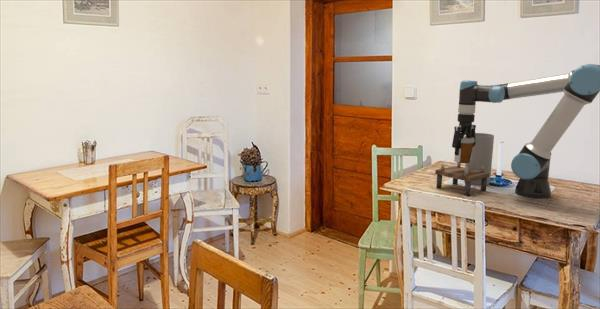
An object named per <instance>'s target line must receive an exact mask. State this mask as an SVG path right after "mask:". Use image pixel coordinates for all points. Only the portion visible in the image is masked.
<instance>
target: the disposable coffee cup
mask: <svg viewBox="0 0 600 309" xmlns="http://www.w3.org/2000/svg"><path fill="white" fill-rule="evenodd" d="M459 139H460V138H459ZM474 142H475V140H474V138H473V137H471V138H467V137H466V135H464V137H463V139H461V146H460V149H461V157H460V162H456V164H457V163H461V164H465V163H470V158H471V153H472V148H473V144H474Z"/></svg>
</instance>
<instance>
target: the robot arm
mask: <svg viewBox="0 0 600 309" xmlns="http://www.w3.org/2000/svg"><path fill="white" fill-rule="evenodd" d="M459 84H460V85H459V94H458V99H459V100H458V109H457V110H458V114H457V122H458V123H459V124H458V125H456V126H454V132H453V138H452V144H451V148H454V160H453V161H454V162H455V163H457V162H460V157H461V149H460V146H461V139H463V137H464V136H466V137H467V138H471V137H473V138H474V140H475V133H476V128H477V124H473V123H474V122H475V117H476V116H475V113H476V105H477V104H476V102H478V103H479V102H481V103H493V104H495V103H496V104H497V103H499V104H501V103H502V102H503V101H505V100H513V99H521V98H527V97H535V96H536V97H537V96H543V95H549V94H550V95H551V94H556V93H563V96H562V97H561V99H560V100H559V102H558V103H557V105H556V106H555V107H554V109H553V110H552V111H551V113H550V114H549V115H548V118H547V119H546V120H545V121H544V123H543V125H542V126H541V128H540V129H539V130H538V131H537V133H536V135H535V136H534V138H533V139H532V140H531V141H530V142H527V143H524V145H523V146H522V148H521V150H520V151H519V153H518V154H516V155H515V156H514V157H512V158H513V159H512V160H511V163H510V167H511V171H512V173H513V174H514V175H515V176H516V177H517V178H519V179H518V182H517V183H516V186H515V190H514V193H515V194H516V195H517V196H521V197H525V198H530V199H549V198H551V196H552V190H551V185H550V182H549V177H550V176H549V175H550V174H549V173H550V164H551V159H552V150H554V148H555V147H556V146H557V144H558V142H559V141H560V140H561V138H562V137H563V136H564V134H565V133H566V131H567V130H568V129H569V127H570V126H571V125H572V123H573V122H574V121H575V119H576V118H577V116H578V115H579V114H580V112H581V111H582V109H583V108H584V106H586V105H588V104H589V105H590V104H591V103H593V101H594V100H595V98H596V97H597V96H598V94H599V93H600V64H595V63H594V64H593V63H588V64H587V63H586V64H584V65H580V66H579V67H577V68H575V69H573V70H570V72H569V73H564V74H557V75H552V76H544V77H538V78H533V79H532V78H531V79H526V80H519V81H515V82H514V81H512V82H509V83H507V82H506V83H501V84H494V85H493V84H492V85H491V84H490V85H483V84H482V85H481V84H480V85H479V84H478V80H468V79H467V80H466V79H465V80H462V81H460V83H459ZM459 138H460V139H459ZM475 144H476V140H475V142H474V144H473V147H474V146H475ZM471 154H472V153H471ZM470 160H471V158H470Z"/></svg>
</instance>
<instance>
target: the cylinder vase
mask: <svg viewBox="0 0 600 309" xmlns="http://www.w3.org/2000/svg"><path fill="white" fill-rule="evenodd" d="M494 139H495V135H494V134H491V133H485V132H484V133H482V132H475V140H476V144H475V146H474V147H473V148H472V154H471V160H470V163H464V164H465V166H464V168H468V169H473V170H478V171H480V169H481V166H484V172H487V173H489V177H487V186H489V185H490V184H489V182H490V183H491V179H492V176H491V175H492V168H493V167H492V165H493V164H492V163H493V153H494V143H495V140H494ZM481 181H482V179H479V180H475V181H471V185H472V186H478V187H479V186H480V187H481ZM465 182H466V181H464V183H465Z"/></svg>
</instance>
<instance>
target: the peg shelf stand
mask: <svg viewBox="0 0 600 309" xmlns="http://www.w3.org/2000/svg"><path fill="white" fill-rule="evenodd" d="M456 164H457V165H455V166H448V167H445V164H443V163H442V164H440V168H439V169H435V171H434V172H435V175H436V186H435V187H436V189H437V190H439V189H441V190H442V184H443V177H447V178H450V179H452V185H454V186H457V185H458V182H459V181H458V180H460V181H464V183H465V184H464V186H465V187H464V196H466V197H469V196H471V187H472V186H471V181H475V180H479V179H482V181H481V186H480V192H487V186H488V185H487V177H489V173H487V172H484V166H481V169H480V171H478V170H473V169H468V168H465V167H463V166H462V167H461V165H462V163H457V162H456ZM465 181H466V182H465Z"/></svg>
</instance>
